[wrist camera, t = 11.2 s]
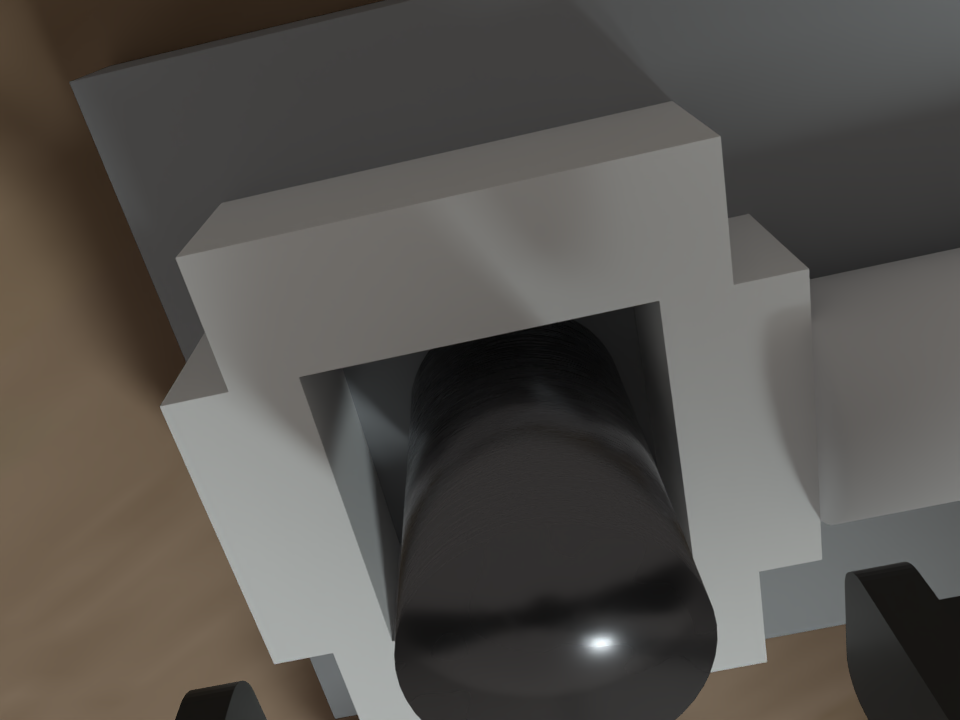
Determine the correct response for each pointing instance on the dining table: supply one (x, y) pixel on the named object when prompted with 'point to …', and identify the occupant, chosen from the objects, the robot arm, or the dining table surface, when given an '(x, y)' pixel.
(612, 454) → the dark grey domed cylinder
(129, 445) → the dining table surface
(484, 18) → the socket block
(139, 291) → the dining table surface
